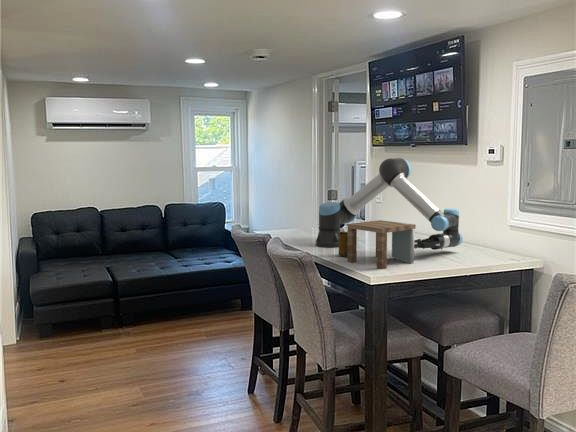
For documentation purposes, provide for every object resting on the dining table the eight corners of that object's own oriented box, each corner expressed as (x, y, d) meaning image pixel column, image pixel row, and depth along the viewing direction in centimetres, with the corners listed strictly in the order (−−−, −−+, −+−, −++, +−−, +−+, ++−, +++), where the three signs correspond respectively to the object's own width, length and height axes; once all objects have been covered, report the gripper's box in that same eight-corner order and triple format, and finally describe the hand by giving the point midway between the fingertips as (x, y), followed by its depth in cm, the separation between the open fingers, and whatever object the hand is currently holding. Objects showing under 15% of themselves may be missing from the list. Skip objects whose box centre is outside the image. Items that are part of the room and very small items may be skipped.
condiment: (343, 254, 280) (343, 230, 279) (357, 256, 275) (357, 232, 273) (334, 256, 275) (334, 232, 274) (348, 258, 269) (348, 233, 268)
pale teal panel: (411, 262, 255) (412, 230, 253) (391, 257, 268) (391, 226, 266) (414, 262, 255) (415, 230, 254) (394, 256, 269) (395, 226, 267)
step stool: (381, 269, 243) (382, 228, 241) (347, 261, 260) (347, 223, 258) (414, 263, 256) (415, 224, 254) (379, 256, 273) (380, 220, 271)
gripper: (449, 250, 269) (418, 256, 255) (426, 247, 281) (394, 252, 267) (450, 235, 269) (418, 240, 255) (427, 232, 280) (395, 236, 266)
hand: (406, 246), depth 261 cm, fingers closed
